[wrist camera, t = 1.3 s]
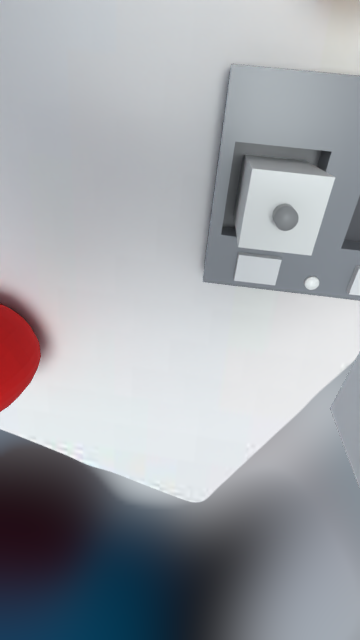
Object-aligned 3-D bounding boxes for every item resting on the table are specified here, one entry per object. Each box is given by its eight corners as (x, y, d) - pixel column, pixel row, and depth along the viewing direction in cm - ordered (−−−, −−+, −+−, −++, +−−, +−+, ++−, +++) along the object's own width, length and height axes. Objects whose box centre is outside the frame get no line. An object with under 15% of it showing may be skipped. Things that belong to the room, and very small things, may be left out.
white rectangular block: (244, 154, 27) (254, 171, 20) (306, 160, 27) (341, 181, 19) (233, 216, 30) (239, 253, 22) (290, 222, 30) (315, 262, 22)
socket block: (230, 68, 25) (232, 62, 22) (495, 93, 24) (535, 91, 21) (204, 268, 33) (202, 285, 30) (399, 291, 33) (418, 310, 30)
